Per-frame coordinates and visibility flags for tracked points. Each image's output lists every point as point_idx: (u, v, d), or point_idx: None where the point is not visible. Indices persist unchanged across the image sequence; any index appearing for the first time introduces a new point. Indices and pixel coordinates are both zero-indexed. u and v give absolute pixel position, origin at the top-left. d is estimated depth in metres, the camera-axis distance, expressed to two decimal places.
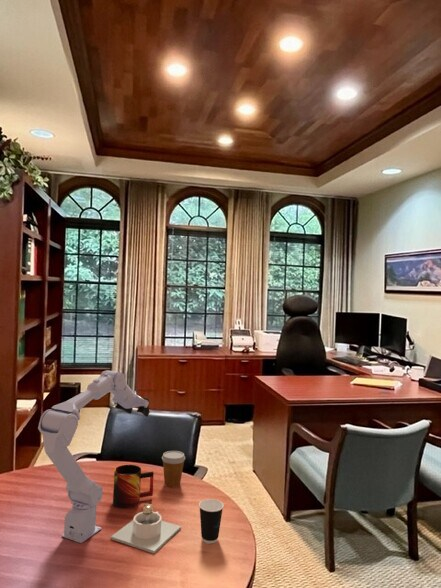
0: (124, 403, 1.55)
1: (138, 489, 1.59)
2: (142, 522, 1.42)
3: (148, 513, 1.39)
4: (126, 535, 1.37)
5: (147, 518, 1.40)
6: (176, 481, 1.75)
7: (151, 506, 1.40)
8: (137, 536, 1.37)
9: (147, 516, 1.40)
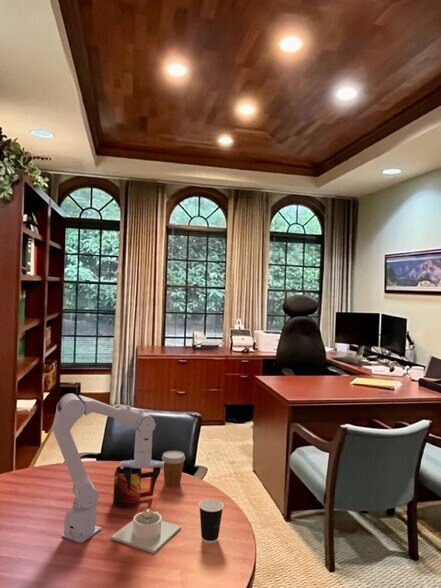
0: (144, 458, 1.46)
1: (138, 489, 1.59)
2: None
3: (148, 517, 1.39)
4: (126, 535, 1.37)
5: (146, 522, 1.40)
6: (176, 481, 1.75)
7: (151, 510, 1.40)
8: (137, 536, 1.37)
9: (147, 520, 1.40)
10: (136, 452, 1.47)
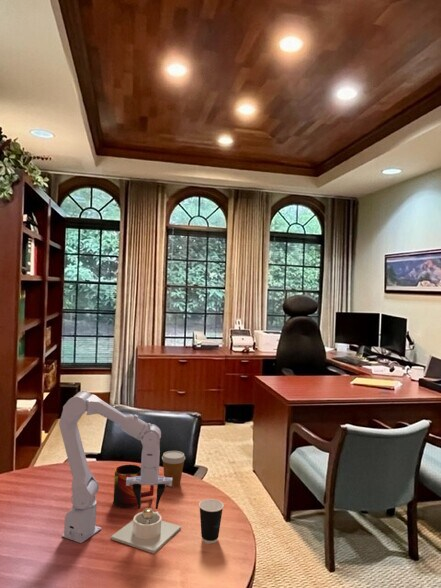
0: (151, 474, 1.38)
1: None
2: None
3: (148, 517, 1.39)
4: (126, 535, 1.37)
5: (146, 522, 1.40)
6: (176, 481, 1.75)
7: (151, 510, 1.40)
8: (137, 536, 1.37)
9: (147, 520, 1.40)
10: (143, 468, 1.38)
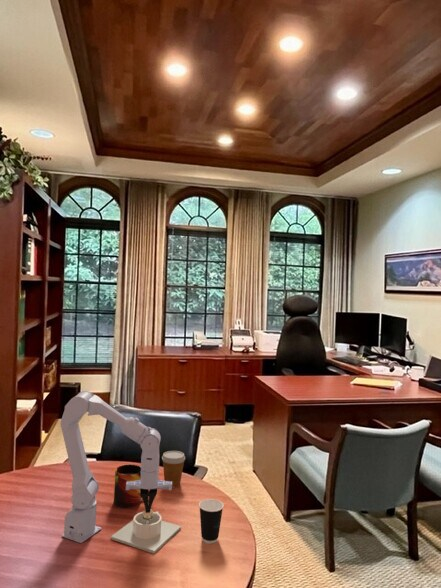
0: (151, 478, 1.38)
1: (139, 489, 1.59)
2: None
3: (148, 518, 1.39)
4: (126, 535, 1.37)
5: (146, 522, 1.40)
6: (176, 481, 1.75)
7: (151, 511, 1.40)
8: (137, 536, 1.37)
9: (147, 521, 1.40)
10: (142, 472, 1.38)
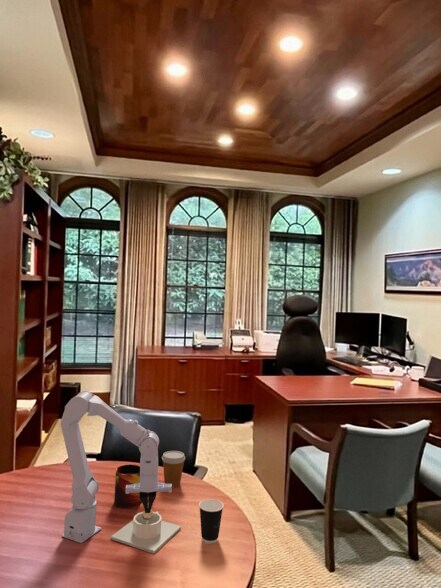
0: (150, 481, 1.38)
1: None
2: None
3: (148, 518, 1.39)
4: (126, 535, 1.37)
5: (146, 522, 1.40)
6: (176, 481, 1.75)
7: (151, 511, 1.40)
8: (137, 536, 1.37)
9: (147, 521, 1.40)
10: (142, 475, 1.38)
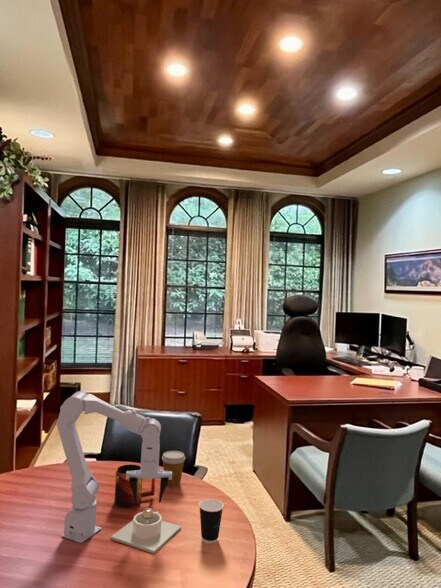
0: (151, 468, 1.38)
1: (139, 489, 1.59)
2: None
3: (148, 517, 1.39)
4: (126, 535, 1.37)
5: (146, 522, 1.40)
6: (176, 481, 1.75)
7: (151, 510, 1.40)
8: (137, 536, 1.37)
9: (147, 520, 1.40)
10: (143, 462, 1.39)
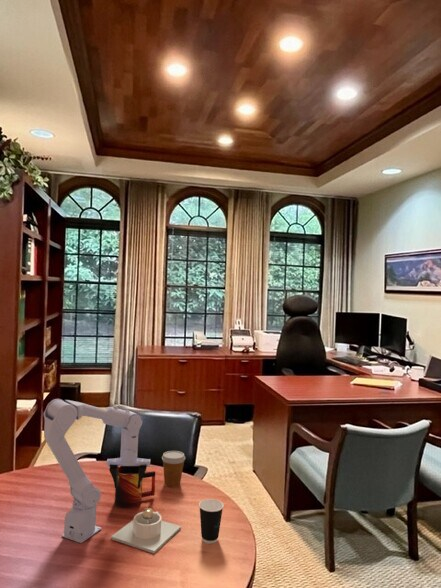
0: (130, 455, 1.47)
1: (140, 489, 1.59)
2: None
3: (148, 517, 1.39)
4: (126, 535, 1.37)
5: (146, 522, 1.40)
6: (176, 481, 1.75)
7: (151, 510, 1.40)
8: (137, 536, 1.37)
9: (147, 520, 1.40)
10: (122, 450, 1.48)
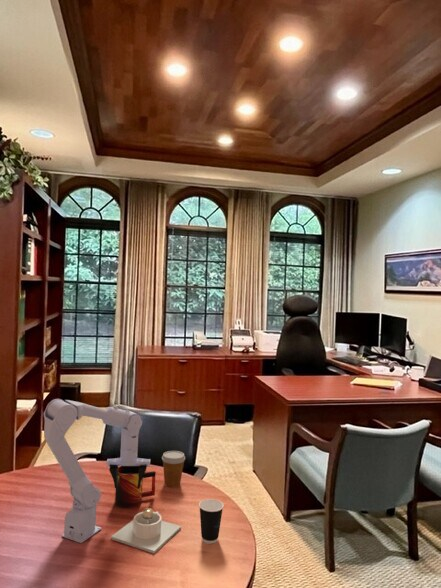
0: (130, 455, 1.47)
1: (140, 489, 1.59)
2: None
3: (148, 517, 1.39)
4: (126, 535, 1.37)
5: (146, 522, 1.40)
6: (176, 481, 1.75)
7: (151, 510, 1.40)
8: (137, 536, 1.37)
9: (147, 520, 1.40)
10: (122, 450, 1.48)
